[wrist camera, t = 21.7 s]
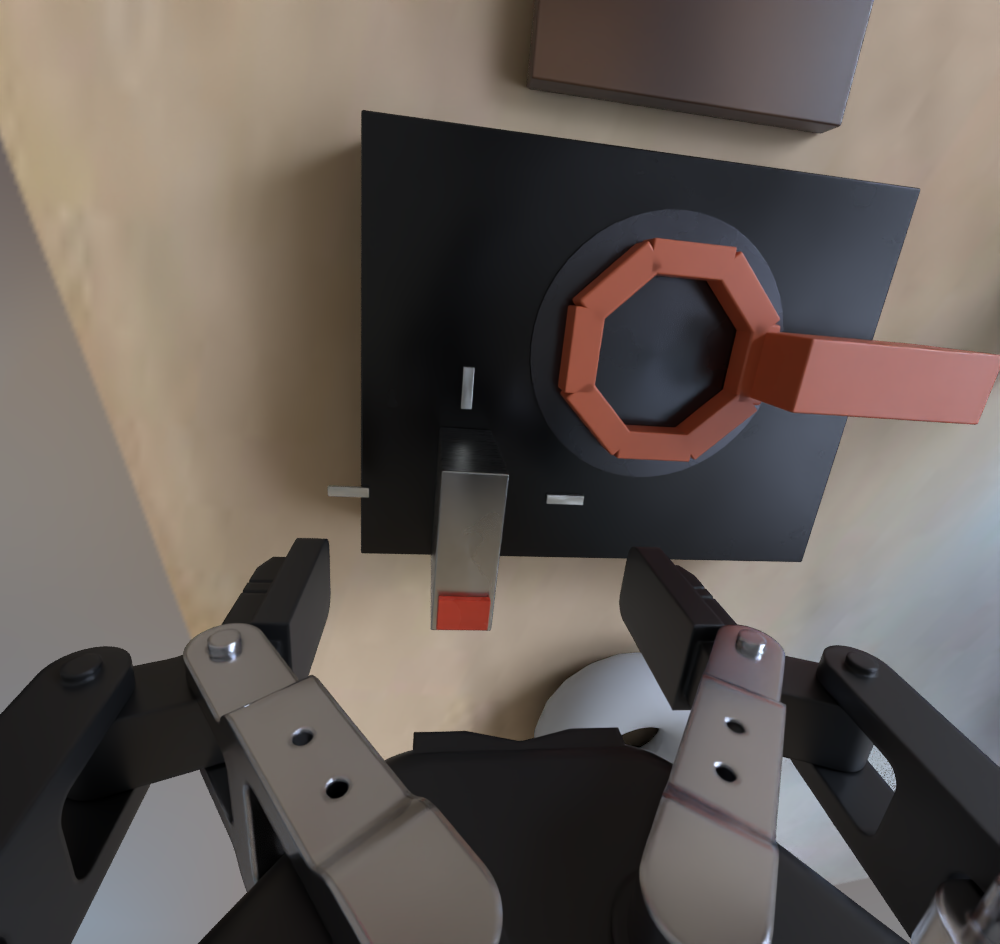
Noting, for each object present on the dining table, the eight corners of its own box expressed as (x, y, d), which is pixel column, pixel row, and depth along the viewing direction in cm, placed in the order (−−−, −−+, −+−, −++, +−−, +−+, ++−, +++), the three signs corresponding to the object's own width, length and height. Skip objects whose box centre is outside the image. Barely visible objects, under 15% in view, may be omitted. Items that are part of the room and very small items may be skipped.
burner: (813, 226, 17) (815, 225, 17) (745, 481, 20) (747, 482, 20) (546, 192, 16) (547, 192, 16) (517, 471, 19) (517, 472, 19)
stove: (852, 201, 20) (925, 187, 17) (748, 569, 25) (790, 607, 22) (338, 133, 17) (319, 101, 14) (343, 562, 22) (330, 604, 19)
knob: (439, 426, 18) (442, 473, 13) (491, 430, 18) (510, 478, 14) (430, 555, 19) (430, 635, 15) (478, 556, 20) (492, 636, 15)
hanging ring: (549, 447, 18) (572, 479, 15) (576, 232, 16) (610, 221, 13) (873, 463, 20) (950, 494, 17) (939, 273, 18) (1040, 272, 15)
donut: (732, 640, 27) (546, 631, 25) (774, 689, 24) (565, 683, 22) (679, 783, 30) (511, 785, 28) (710, 844, 27) (523, 850, 25)
